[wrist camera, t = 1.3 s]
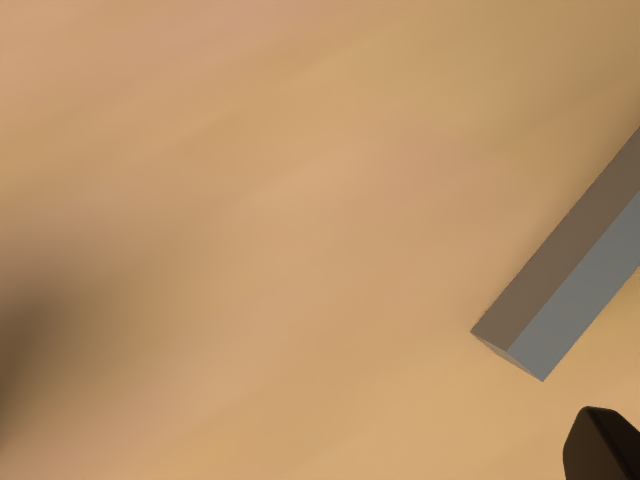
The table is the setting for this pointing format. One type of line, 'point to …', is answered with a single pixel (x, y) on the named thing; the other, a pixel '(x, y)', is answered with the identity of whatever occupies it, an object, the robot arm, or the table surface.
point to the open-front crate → (570, 272)
